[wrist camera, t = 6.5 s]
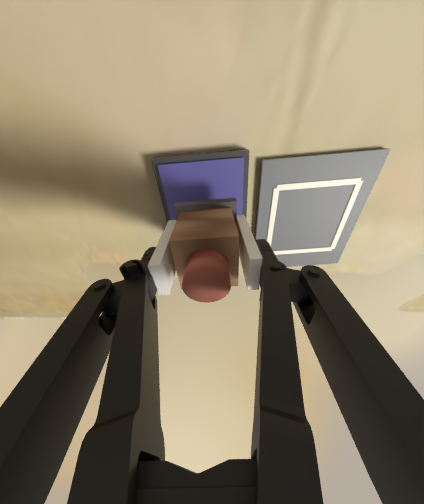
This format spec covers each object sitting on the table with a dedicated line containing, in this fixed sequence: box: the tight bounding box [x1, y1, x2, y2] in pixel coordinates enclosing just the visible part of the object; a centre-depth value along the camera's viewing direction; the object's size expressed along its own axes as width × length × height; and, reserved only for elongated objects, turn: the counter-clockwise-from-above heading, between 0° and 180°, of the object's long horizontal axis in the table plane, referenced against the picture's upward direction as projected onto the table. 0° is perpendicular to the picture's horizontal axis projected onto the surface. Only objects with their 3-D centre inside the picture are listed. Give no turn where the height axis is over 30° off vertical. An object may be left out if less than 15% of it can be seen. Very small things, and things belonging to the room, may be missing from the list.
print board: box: [255, 149, 390, 267], centre depth 20 cm, size 12×14×1 cm
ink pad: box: [152, 149, 249, 222], centre depth 19 cm, size 9×12×2 cm
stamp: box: [169, 198, 239, 302], centre depth 14 cm, size 6×6×8 cm
